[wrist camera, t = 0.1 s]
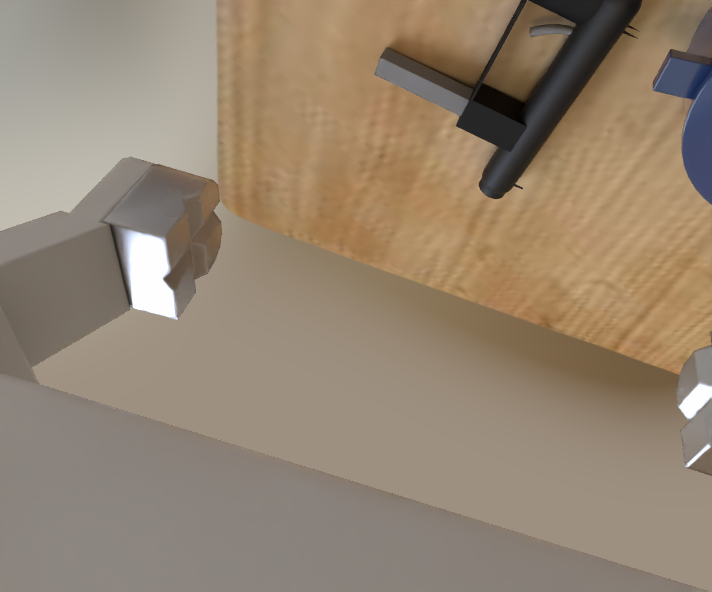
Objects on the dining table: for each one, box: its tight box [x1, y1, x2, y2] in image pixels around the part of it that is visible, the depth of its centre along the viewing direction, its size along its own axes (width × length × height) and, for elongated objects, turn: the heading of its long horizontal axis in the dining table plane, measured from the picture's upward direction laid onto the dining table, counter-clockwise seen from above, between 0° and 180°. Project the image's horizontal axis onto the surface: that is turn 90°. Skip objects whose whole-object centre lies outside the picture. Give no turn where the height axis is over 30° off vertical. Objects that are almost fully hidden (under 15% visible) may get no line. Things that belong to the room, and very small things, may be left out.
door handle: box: [374, 0, 642, 199], centre depth 47 cm, size 3×20×16 cm
